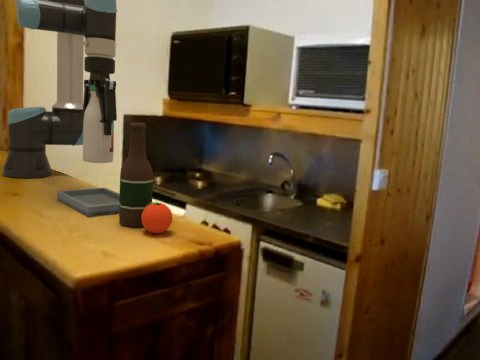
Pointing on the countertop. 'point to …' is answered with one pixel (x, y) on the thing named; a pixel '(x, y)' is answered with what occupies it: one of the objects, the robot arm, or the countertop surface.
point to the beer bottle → (135, 180)
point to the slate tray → (91, 201)
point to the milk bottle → (95, 133)
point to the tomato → (156, 217)
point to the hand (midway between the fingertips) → (98, 145)
